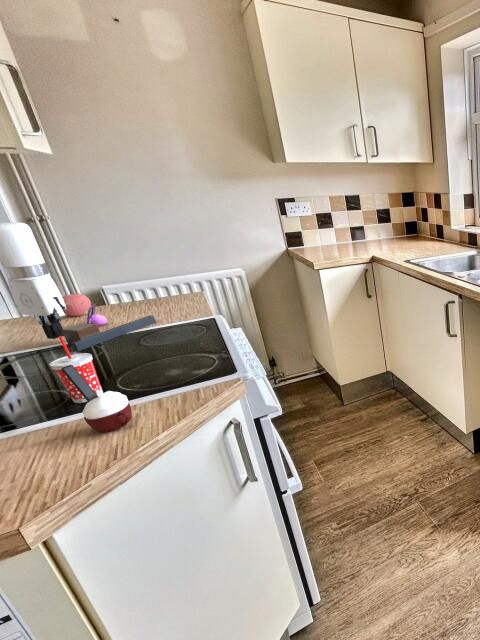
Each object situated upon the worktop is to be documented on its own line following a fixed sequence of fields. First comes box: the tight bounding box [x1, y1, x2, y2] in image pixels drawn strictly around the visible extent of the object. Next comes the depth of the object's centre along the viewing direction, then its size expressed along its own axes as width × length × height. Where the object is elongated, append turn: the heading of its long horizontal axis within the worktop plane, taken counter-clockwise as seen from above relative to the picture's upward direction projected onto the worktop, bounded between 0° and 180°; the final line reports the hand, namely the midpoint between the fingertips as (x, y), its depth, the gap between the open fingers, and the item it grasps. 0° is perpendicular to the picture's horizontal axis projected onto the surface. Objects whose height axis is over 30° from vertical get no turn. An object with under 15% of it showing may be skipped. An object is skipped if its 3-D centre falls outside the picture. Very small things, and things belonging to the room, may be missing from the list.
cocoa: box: [61, 365, 133, 433], centre depth 76 cm, size 10×6×12 cm, turn 53°
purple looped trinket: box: [85, 302, 111, 326], centre depth 128 cm, size 7×5×9 cm
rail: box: [70, 315, 157, 352], centre depth 120 cm, size 2×22×2 cm, turn 171°
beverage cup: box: [48, 336, 104, 404], centre depth 85 cm, size 6×6×14 cm
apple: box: [62, 292, 92, 318], centre depth 137 cm, size 7×7×8 cm
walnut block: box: [62, 323, 100, 347], centre depth 115 cm, size 5×5×5 cm
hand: (56, 337), depth 116 cm, fingers closed
